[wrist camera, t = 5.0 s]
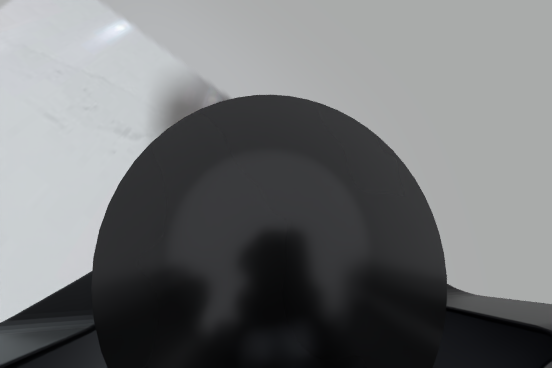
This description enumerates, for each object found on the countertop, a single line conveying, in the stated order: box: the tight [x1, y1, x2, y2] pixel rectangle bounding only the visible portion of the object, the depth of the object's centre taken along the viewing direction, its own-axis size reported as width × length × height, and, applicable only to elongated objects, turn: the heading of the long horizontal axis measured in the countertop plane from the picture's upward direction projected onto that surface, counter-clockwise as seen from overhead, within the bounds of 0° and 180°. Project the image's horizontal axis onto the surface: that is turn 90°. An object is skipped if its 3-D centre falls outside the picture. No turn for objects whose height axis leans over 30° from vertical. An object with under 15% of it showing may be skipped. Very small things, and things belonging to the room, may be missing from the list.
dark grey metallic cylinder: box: [91, 95, 447, 368], centre depth 9 cm, size 5×5×13 cm
